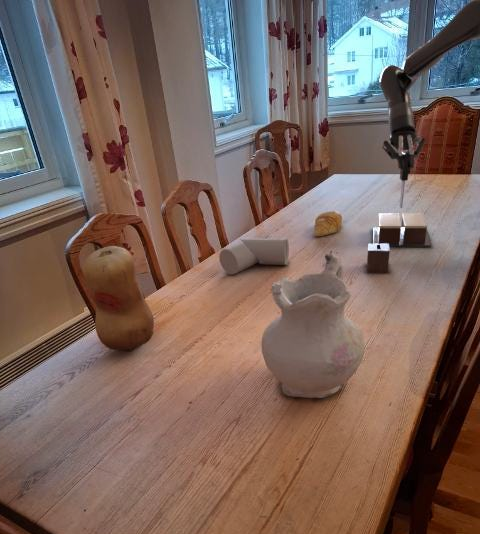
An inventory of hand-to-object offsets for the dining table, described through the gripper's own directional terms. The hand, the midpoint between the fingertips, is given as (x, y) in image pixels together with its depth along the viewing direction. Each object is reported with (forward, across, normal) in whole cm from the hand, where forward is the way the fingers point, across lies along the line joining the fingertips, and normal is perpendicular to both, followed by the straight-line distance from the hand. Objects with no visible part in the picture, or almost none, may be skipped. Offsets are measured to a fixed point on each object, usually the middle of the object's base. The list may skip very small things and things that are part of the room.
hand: (406, 168), depth 135 cm
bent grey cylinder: (+27, -48, +8) cm, 56 cm away
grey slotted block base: (+14, +2, +21) cm, 25 cm away
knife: (+8, 0, +11) cm, 13 cm away
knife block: (+32, -11, +3) cm, 34 cm away
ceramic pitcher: (+69, -34, -34) cm, 84 cm away
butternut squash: (+60, -77, -24) cm, 100 cm away
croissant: (+5, -22, +31) cm, 38 cm away
